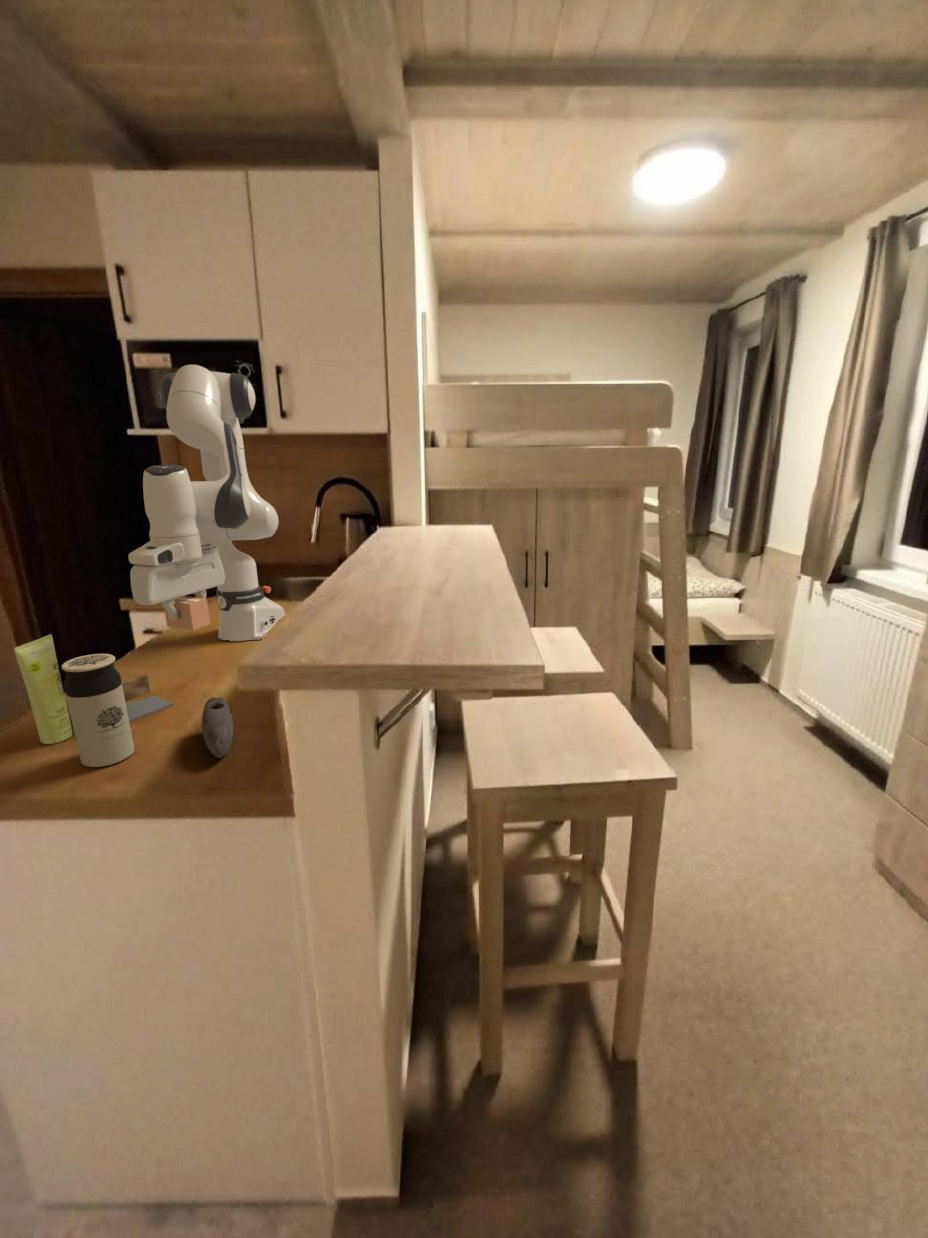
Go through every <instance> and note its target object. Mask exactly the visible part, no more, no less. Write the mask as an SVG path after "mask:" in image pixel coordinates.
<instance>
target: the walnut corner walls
mask: <svg viewBox="0 0 928 1238" xmlns="http://www.w3.org/2000/svg"><path fill="white" fill-rule="evenodd" d="M121 682H122V687H123V692H124V697H125V702H127V701H130V700H133V699H136V698H139V697H141V696H144V695H147V694H150V693H151V688H150V684H149V683H150V682H149V677H148V675H147V674H143V675H139V676H137V677H134V678H130V679H127V680H124V681H121Z"/></svg>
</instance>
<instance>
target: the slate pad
mask: <svg viewBox="0 0 928 1238" xmlns="http://www.w3.org/2000/svg"><path fill="white" fill-rule="evenodd" d="M173 706H174V703H173V702H171V701H170V700H169V701H168V700H165V699H163V698H161V697H159V696H155V695H151V696H148V697H145V698H143V699H139V700H138V701H135V702H132V703H131V702H130V703H129V704H126V708H127V713H128V718H129V723H131V722H133V721H136V720H138V719H141V718H143V717H146V716H149V715H151V714H153V713H157V712H159V711H162V710H164V708H165V709H167V708H170V707H173Z"/></svg>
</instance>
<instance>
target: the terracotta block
mask: <svg viewBox="0 0 928 1238" xmlns="http://www.w3.org/2000/svg"><path fill="white" fill-rule="evenodd" d="M174 600H175V604H173V606H174V607H175V609H176V610H180V611H181V618H180V619H177V620H170V619H169V615H168V611H167V610H166V609H165V608H164V607H163V608H164V609H163V610H164V615H165V621H166V627H169V628H174V629H175V628H176V629H182V630H190V631H195V630H197V629H201V628H204V627H206V626H208V625H211V618H210V611H209V603H208V598H196V596H195V597H194V596H187V595H185V596H181V597H178V598H174Z"/></svg>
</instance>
